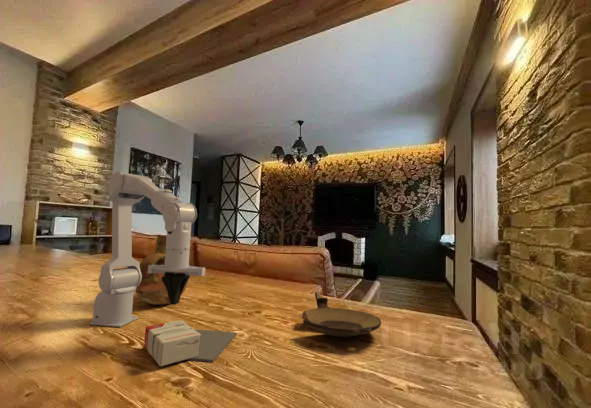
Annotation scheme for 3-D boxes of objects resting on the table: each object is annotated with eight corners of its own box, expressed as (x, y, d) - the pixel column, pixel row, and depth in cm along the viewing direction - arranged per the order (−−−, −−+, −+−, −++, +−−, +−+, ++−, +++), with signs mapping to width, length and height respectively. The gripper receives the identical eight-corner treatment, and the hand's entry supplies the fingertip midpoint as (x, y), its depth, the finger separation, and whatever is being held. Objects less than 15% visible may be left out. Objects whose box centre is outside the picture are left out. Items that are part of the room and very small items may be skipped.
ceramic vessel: (201, 295, 117) (205, 234, 119) (164, 315, 91) (169, 236, 93) (163, 292, 119) (167, 233, 121) (116, 310, 94) (122, 234, 96)
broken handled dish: (299, 349, 70) (300, 317, 70) (302, 312, 99) (303, 290, 100) (392, 355, 68) (392, 322, 69) (367, 315, 98) (367, 293, 99)
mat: (152, 356, 63) (152, 354, 63) (188, 330, 79) (188, 328, 79) (212, 362, 61) (213, 359, 62) (236, 334, 77) (236, 332, 77)
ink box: (143, 348, 66) (159, 367, 57) (145, 326, 66) (161, 342, 58) (180, 339, 72) (200, 356, 63) (182, 319, 72) (202, 333, 63)
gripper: (211, 249, 76) (208, 301, 75) (160, 246, 78) (157, 297, 77) (199, 251, 69) (196, 308, 68) (144, 248, 71) (139, 304, 70)
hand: (174, 303), depth 72 cm, fingers closed
